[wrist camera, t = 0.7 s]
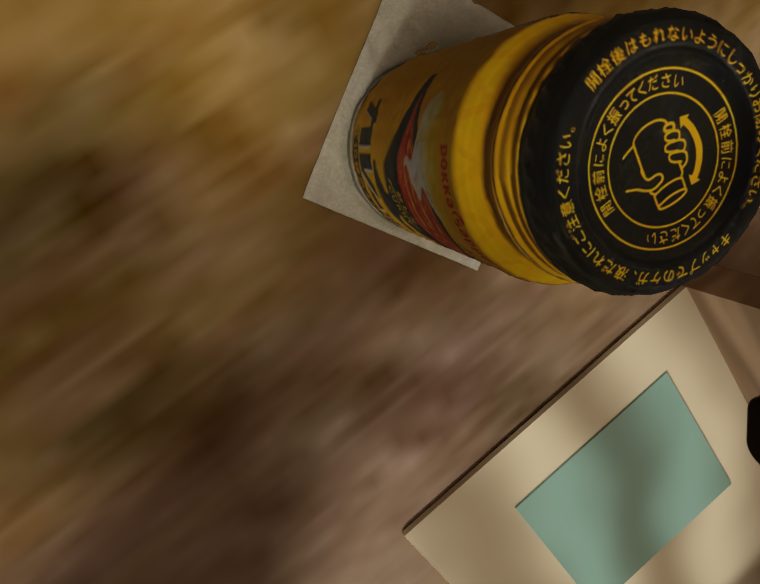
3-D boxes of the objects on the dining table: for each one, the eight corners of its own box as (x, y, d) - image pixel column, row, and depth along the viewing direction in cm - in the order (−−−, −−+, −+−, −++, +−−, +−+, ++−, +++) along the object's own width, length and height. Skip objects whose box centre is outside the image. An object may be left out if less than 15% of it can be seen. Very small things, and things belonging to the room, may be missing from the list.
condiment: (301, 197, 21) (437, 268, 10) (398, -44, 20) (663, -253, 9) (474, 269, 24) (731, 387, 13) (567, 59, 23) (928, -7, 12)
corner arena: (605, 747, 33) (675, 847, 28) (401, 531, 26) (451, 619, 21) (836, 526, 35) (938, 586, 30) (705, 263, 27) (813, 290, 23)
